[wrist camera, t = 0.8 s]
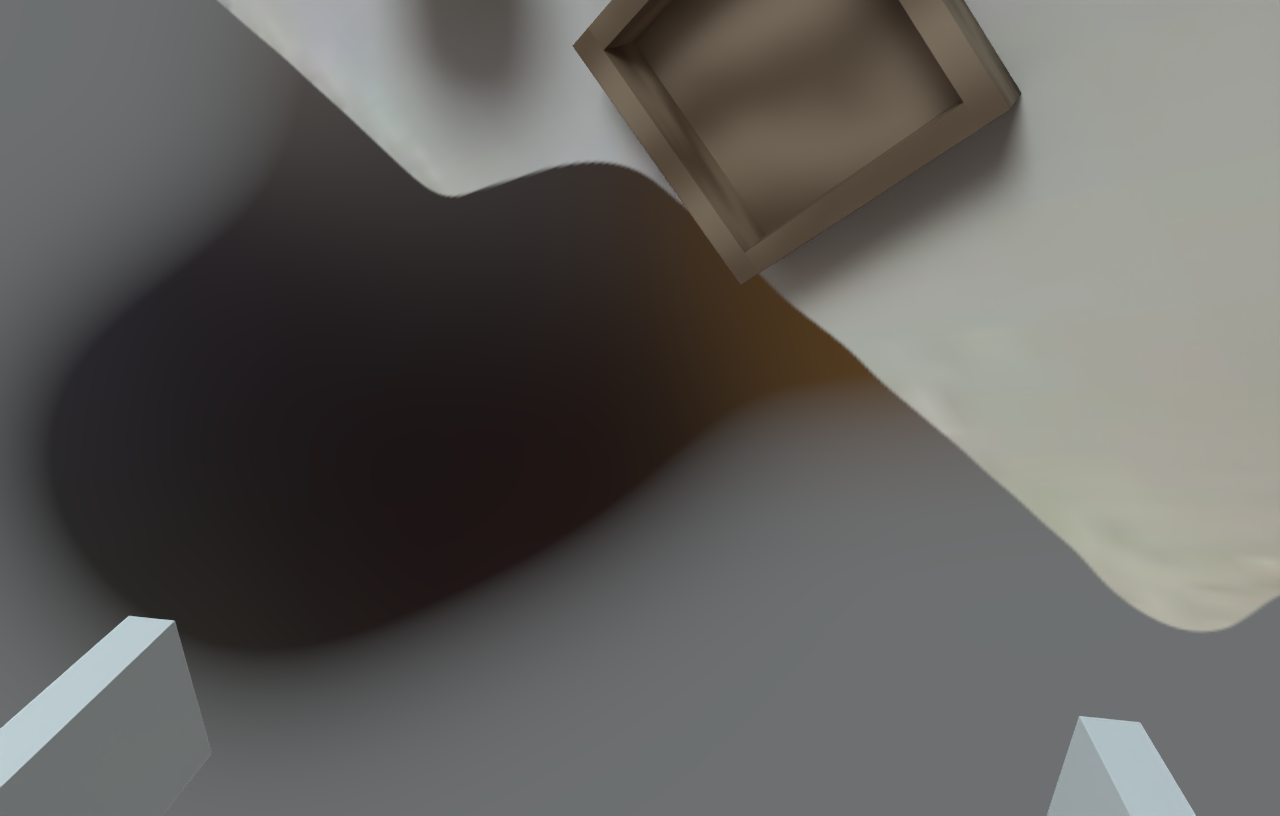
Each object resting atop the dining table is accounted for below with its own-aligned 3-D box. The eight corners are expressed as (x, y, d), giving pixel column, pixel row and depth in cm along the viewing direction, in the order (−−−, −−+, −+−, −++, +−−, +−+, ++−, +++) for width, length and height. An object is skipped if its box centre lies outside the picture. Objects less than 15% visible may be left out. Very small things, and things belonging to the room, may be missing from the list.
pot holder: (610, 36, 39) (572, 45, 36) (832, -212, 30) (803, -222, 27) (766, 261, 41) (740, 285, 38) (1021, 92, 32) (1010, 109, 29)
